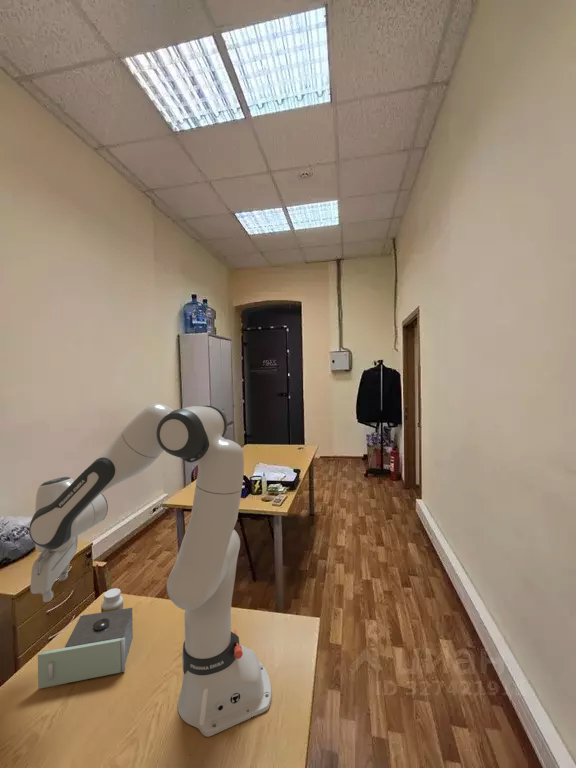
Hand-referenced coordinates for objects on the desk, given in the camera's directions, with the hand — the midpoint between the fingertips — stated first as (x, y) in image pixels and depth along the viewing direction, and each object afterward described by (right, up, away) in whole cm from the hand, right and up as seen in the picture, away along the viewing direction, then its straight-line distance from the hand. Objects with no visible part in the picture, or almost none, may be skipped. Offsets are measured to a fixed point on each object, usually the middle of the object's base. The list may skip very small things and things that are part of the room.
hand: (56, 589), depth 91 cm
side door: (+10, -21, -4) cm, 23 cm away
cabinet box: (+10, -22, +4) cm, 24 cm away
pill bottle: (+7, -22, +15) cm, 27 cm away
